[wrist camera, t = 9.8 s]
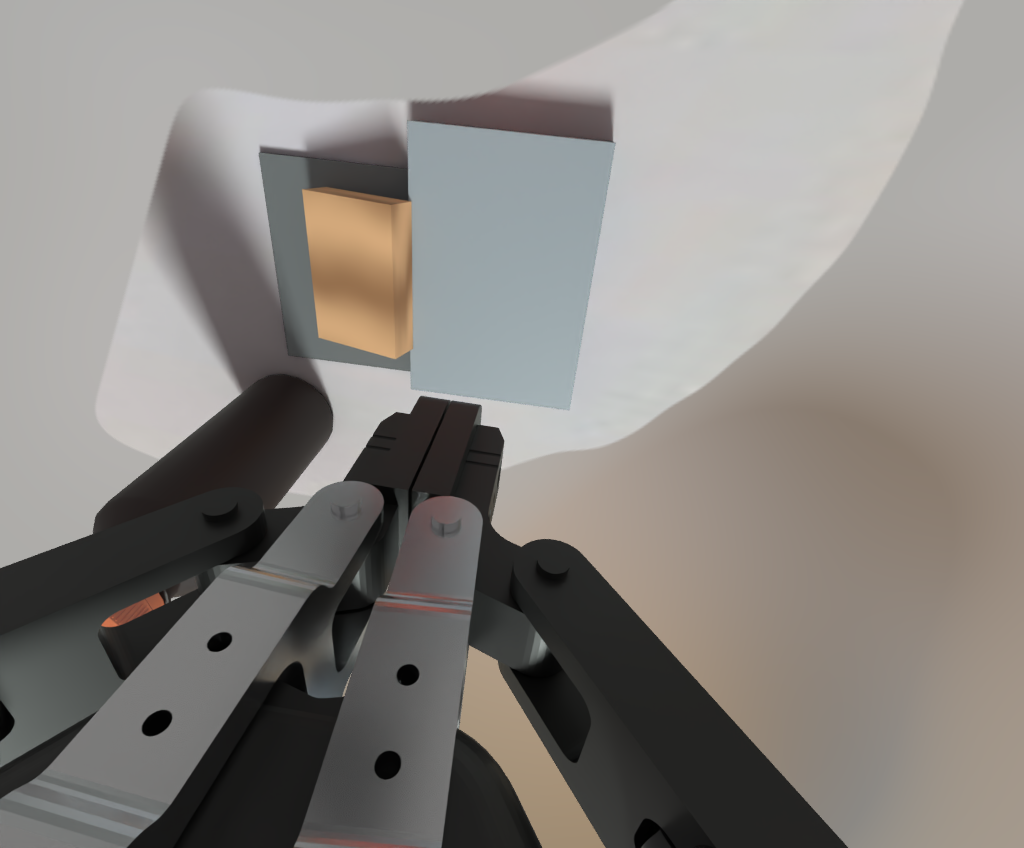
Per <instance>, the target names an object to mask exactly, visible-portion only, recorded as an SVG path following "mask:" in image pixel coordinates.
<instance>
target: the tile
mask: <svg viewBox="0 0 1024 848" xmlns="http://www.w3.org/2000/svg"><path fill="white" fill-rule="evenodd" d="M302 193H303V202H304V211H305V220H306V229H307V238H308V247H309V256H310V265H311V274H312V283H313V292H314V300H315V309H316V318H317V327H318V336H319V338H322V339H325V340H329V341H332V342H336V343H340V344H343V345H347V346H350V347H354V348H357V349H361V350H364V351H368V352H371V353H375V354H379V355H382V356H386V357H389V358H393V359H397V358H398V357H400V356H402V355H403V354H405V353H407V352H409V351H410V350H412V349H413V298H412V203H411V201H405V200H400V199H394V198H388V197H382V196H376V195H370V194H365V193H359V192H353V191H347V190H341V189H336V188H330V187H320V188H311V189H302Z"/></svg>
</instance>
